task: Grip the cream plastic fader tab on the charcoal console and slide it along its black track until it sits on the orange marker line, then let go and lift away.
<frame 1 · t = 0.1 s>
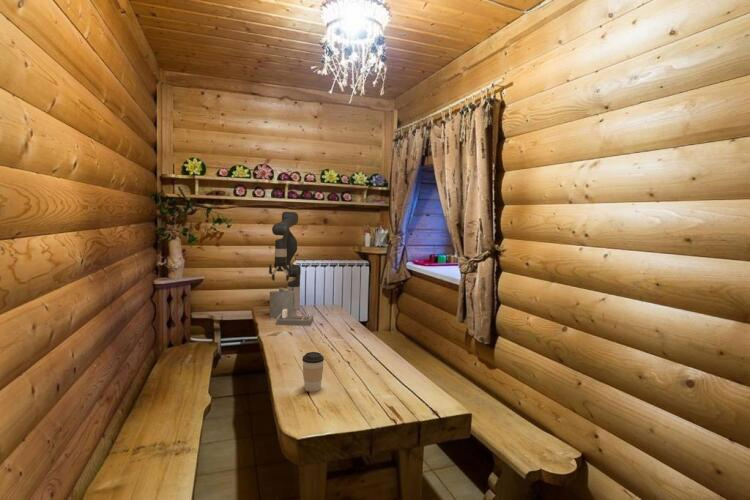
hand: (280, 280, 266), 29 cm above the table, tool pointing down, fingers open, 8 cm apart
coffee cup: (312, 388, 175), on the table
fader tab: (284, 313, 274), point 6 cm above the table, slide at 0.0 cm
grey upright panel: (281, 316, 291), on the table
console: (295, 322, 275), on the table
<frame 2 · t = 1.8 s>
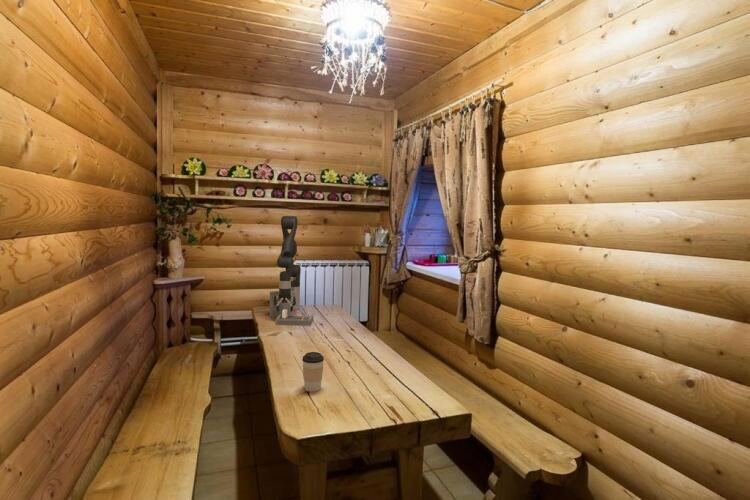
hand: (284, 311, 274), 7 cm above the table, tool pointing down, fingers open, 8 cm apart
nothing on the table moved.
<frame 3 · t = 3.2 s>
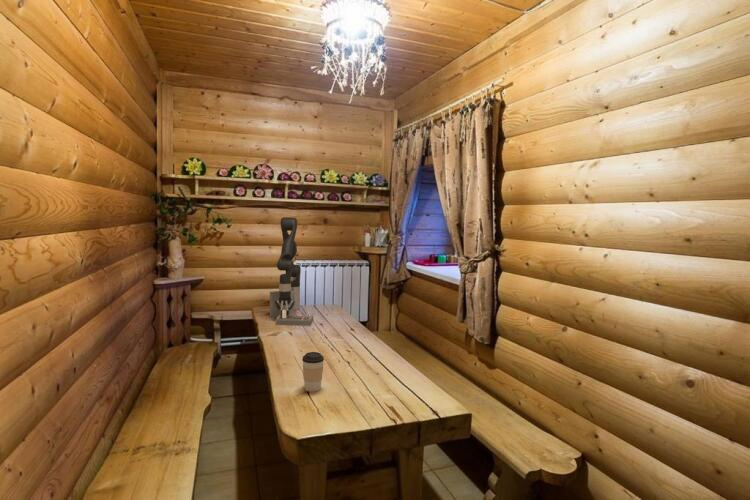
hand: (284, 315, 274), 5 cm above the table, tool pointing down, fingers closed on fader tab, 2 cm apart
fader tab: (284, 313, 274), point 6 cm above the table, slide at 0.0 cm, touching gripper
everything else where it was.
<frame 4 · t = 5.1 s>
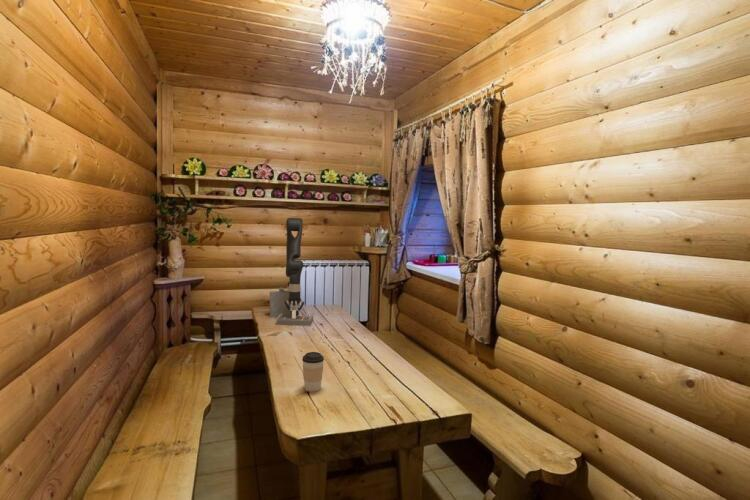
hand: (294, 315, 274), 5 cm above the table, tool pointing down, fingers closed on fader tab, 2 cm apart
fader tab: (294, 313, 274), point 6 cm above the table, slide at 6.4 cm, touching gripper
everything else where it was.
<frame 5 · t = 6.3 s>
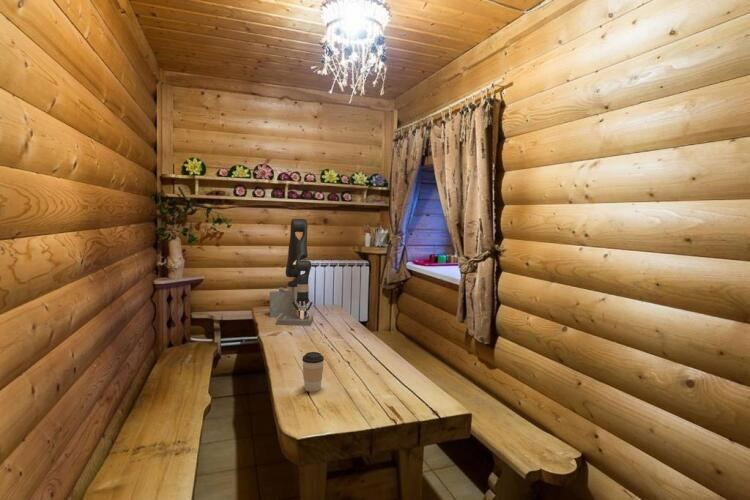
hand: (302, 316, 274), 5 cm above the table, tool pointing down, fingers closed on fader tab, 2 cm apart
fader tab: (302, 314, 274), point 6 cm above the table, slide at 11.8 cm, touching gripper
everything else where it was.
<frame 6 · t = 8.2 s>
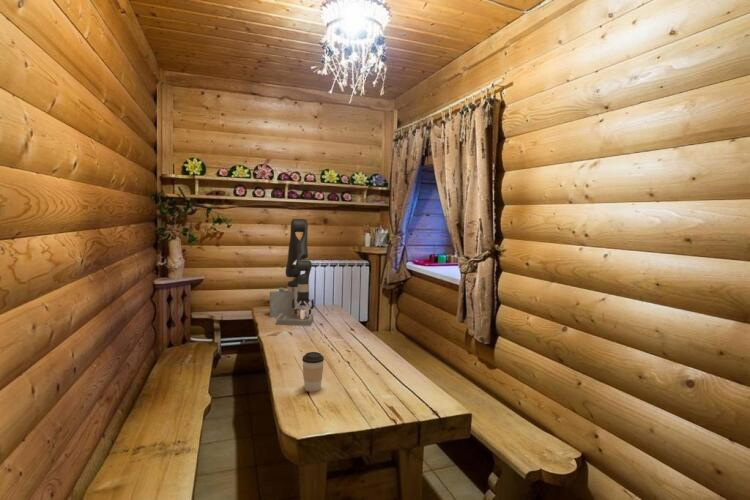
hand: (302, 314, 274), 6 cm above the table, tool pointing down, fingers open, 8 cm apart
fader tab: (302, 314, 274), point 6 cm above the table, slide at 12.0 cm
everything else where it was.
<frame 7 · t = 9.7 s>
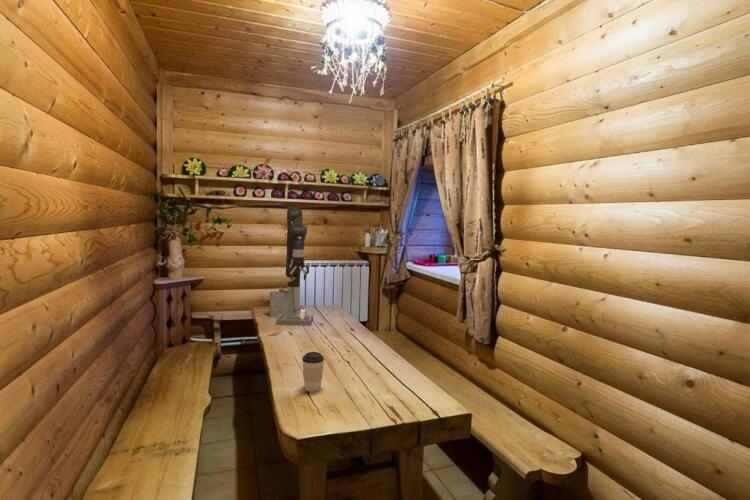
hand: (298, 279, 280), 28 cm above the table, tool pointing down, fingers open, 8 cm apart
nothing on the table moved.
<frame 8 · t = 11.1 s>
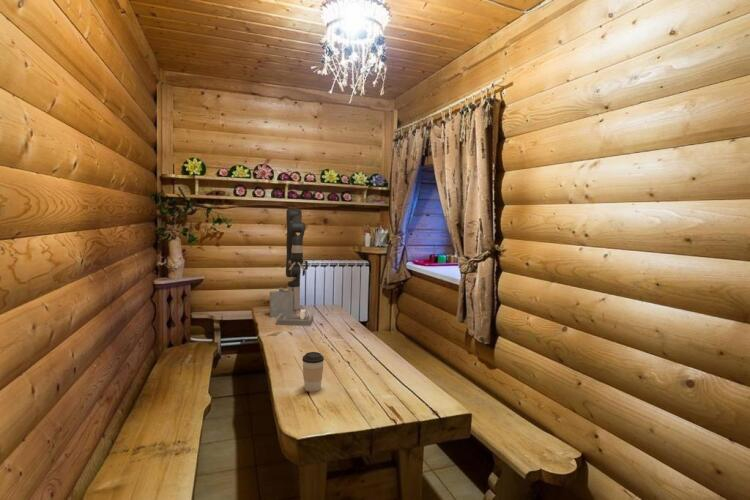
hand: (296, 275, 281), 30 cm above the table, tool pointing down, fingers open, 8 cm apart
nothing on the table moved.
at the end: fader tab slide at 12.0 cm; the gripper is holding nothing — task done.
